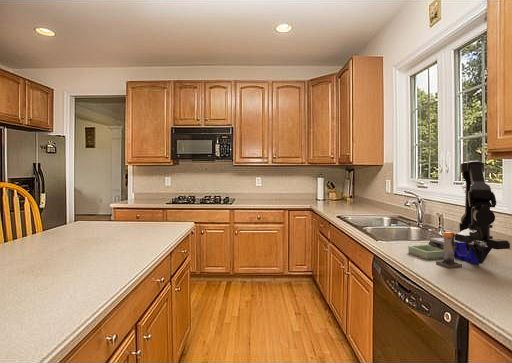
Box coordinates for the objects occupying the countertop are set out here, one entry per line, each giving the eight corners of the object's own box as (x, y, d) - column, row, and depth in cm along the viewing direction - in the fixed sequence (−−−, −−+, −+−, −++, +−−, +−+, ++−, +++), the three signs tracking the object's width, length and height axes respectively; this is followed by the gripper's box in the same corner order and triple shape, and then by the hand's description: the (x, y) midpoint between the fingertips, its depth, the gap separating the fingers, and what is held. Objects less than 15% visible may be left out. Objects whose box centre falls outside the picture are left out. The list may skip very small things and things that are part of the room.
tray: (427, 251, 149) (427, 244, 149) (447, 258, 138) (447, 250, 138) (408, 252, 147) (408, 246, 147) (427, 259, 136) (427, 252, 136)
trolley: (449, 249, 153) (449, 236, 152) (472, 255, 140) (472, 241, 140) (423, 251, 150) (423, 237, 150) (444, 258, 138) (444, 243, 138)
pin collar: (449, 262, 131) (449, 260, 131) (462, 266, 125) (462, 264, 125) (436, 263, 130) (436, 261, 130) (448, 268, 124) (448, 265, 124)
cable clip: (452, 256, 141) (452, 241, 141) (464, 256, 140) (463, 242, 140) (467, 263, 129) (467, 248, 129) (479, 264, 128) (479, 248, 128)
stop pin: (449, 263, 129) (449, 231, 129) (456, 266, 126) (456, 233, 126) (441, 264, 129) (441, 232, 128) (448, 267, 125) (448, 233, 125)
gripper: (442, 219, 132) (443, 259, 132) (484, 226, 114) (484, 272, 114) (466, 218, 135) (466, 257, 135) (511, 224, 116) (511, 269, 117)
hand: (480, 263), depth 125 cm, fingers closed
